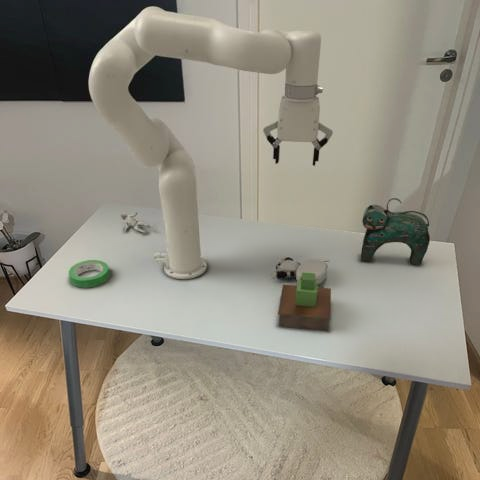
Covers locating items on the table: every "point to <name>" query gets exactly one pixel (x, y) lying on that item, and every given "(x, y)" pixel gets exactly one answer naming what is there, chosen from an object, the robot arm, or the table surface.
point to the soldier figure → (133, 222)
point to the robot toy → (301, 269)
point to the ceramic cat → (394, 232)
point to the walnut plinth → (304, 310)
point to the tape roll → (92, 280)
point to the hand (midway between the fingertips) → (295, 162)
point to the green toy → (307, 290)
